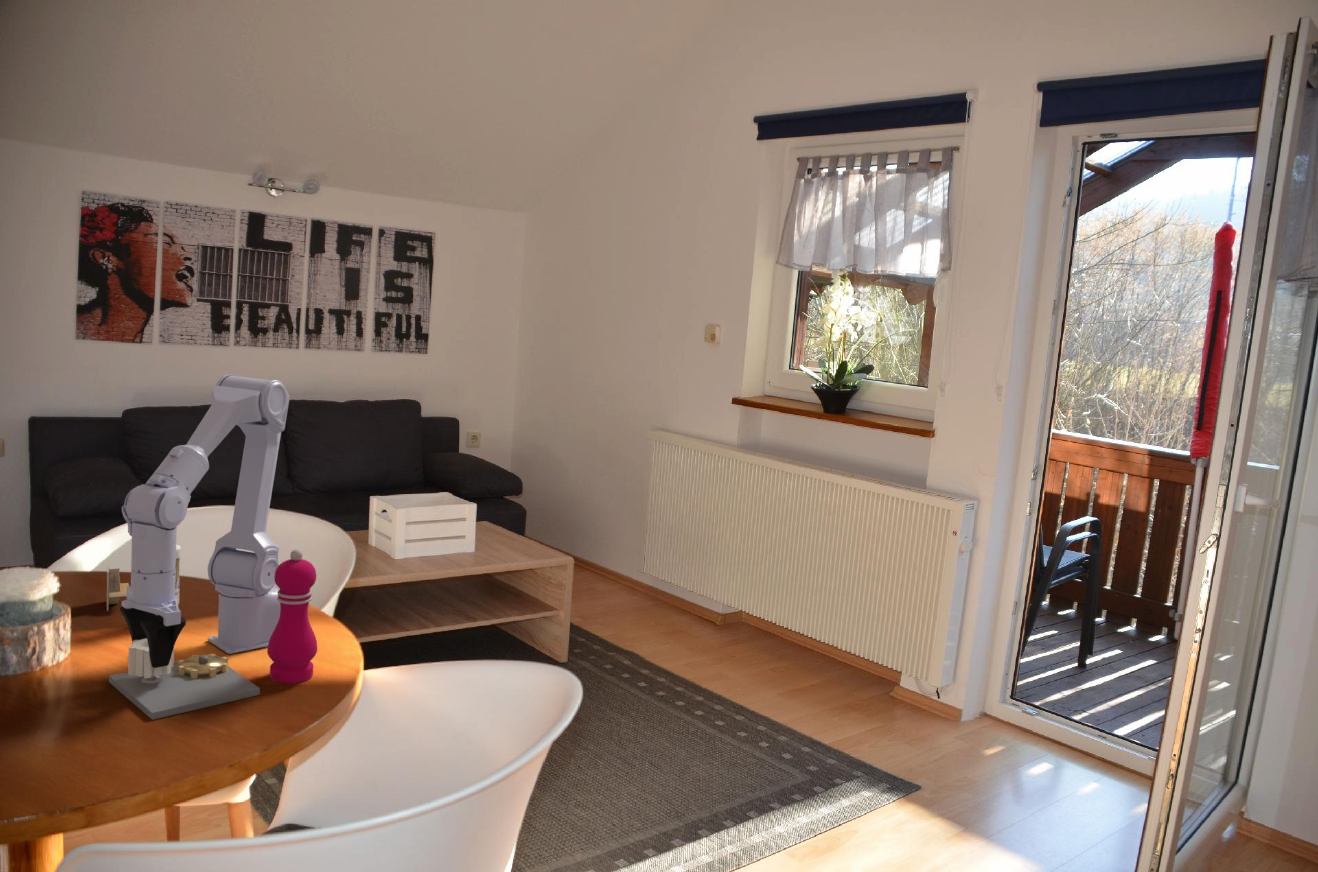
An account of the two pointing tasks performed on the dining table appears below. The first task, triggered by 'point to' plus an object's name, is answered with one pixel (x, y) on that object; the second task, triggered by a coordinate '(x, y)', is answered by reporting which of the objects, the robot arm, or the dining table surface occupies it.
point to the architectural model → (115, 586)
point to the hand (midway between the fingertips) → (151, 659)
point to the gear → (145, 661)
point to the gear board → (185, 686)
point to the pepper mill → (293, 622)
